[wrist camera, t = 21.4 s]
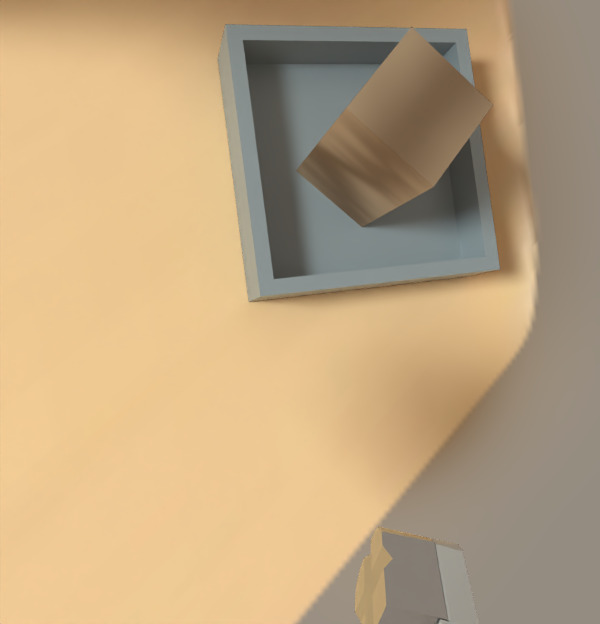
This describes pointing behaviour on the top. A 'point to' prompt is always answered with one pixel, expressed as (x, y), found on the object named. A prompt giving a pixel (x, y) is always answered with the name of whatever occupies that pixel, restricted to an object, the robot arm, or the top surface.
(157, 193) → the top surface
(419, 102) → the walnut block
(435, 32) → the tray
